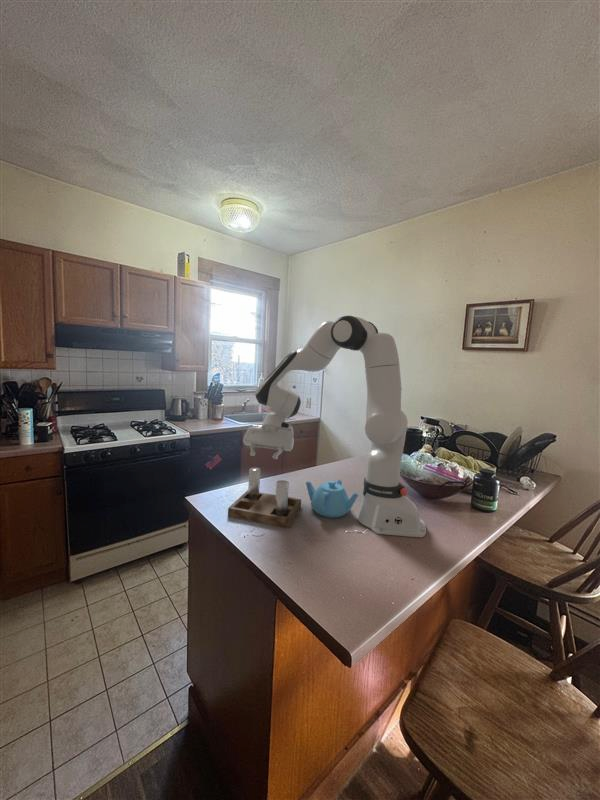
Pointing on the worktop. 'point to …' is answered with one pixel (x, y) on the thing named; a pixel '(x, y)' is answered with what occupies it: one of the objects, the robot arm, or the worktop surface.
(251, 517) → the socket board
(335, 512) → the teapot
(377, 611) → the worktop surface
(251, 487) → the pin
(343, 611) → the worktop surface
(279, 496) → the pin
